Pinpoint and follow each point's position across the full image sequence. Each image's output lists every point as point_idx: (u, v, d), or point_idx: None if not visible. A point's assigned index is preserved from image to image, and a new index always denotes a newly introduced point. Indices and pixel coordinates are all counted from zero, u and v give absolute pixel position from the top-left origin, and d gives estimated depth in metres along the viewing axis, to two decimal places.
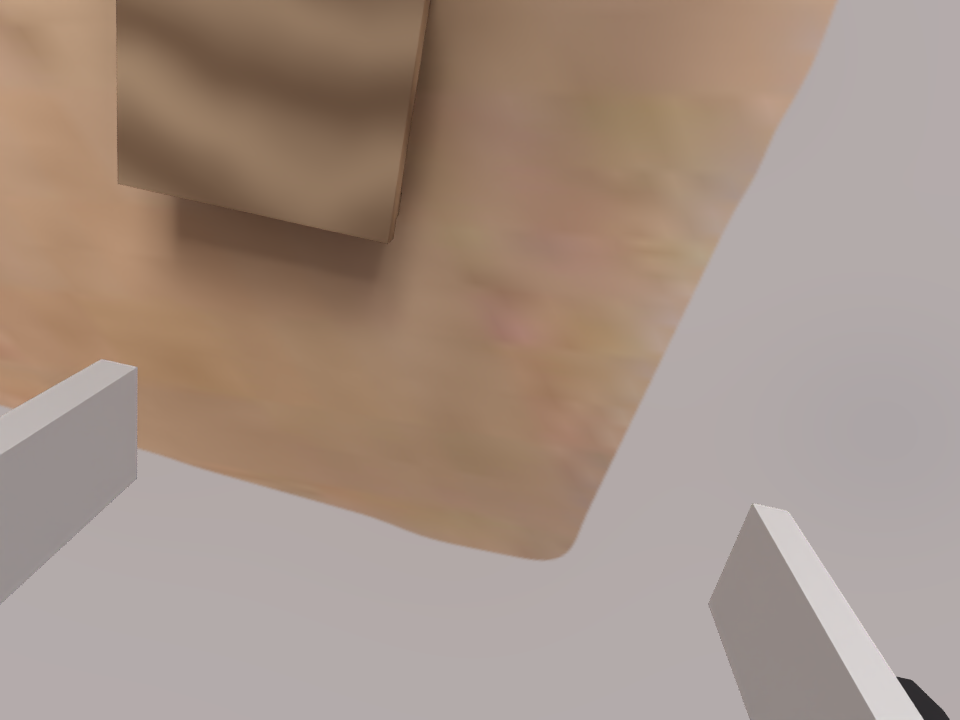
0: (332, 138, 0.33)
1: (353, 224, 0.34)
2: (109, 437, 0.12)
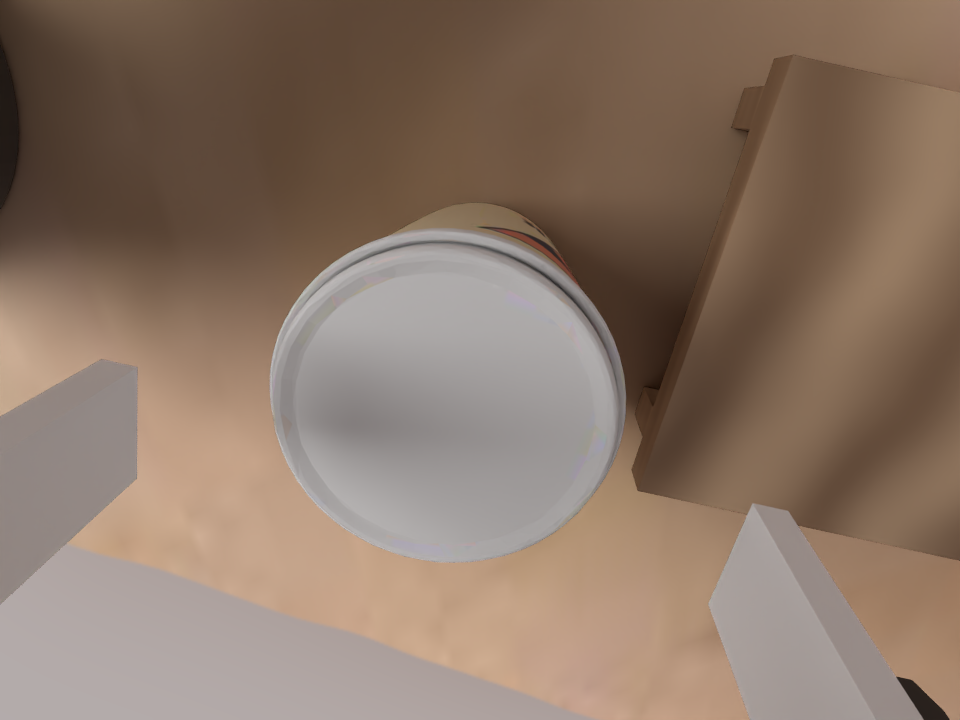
0: None
1: None
2: (109, 437, 0.12)
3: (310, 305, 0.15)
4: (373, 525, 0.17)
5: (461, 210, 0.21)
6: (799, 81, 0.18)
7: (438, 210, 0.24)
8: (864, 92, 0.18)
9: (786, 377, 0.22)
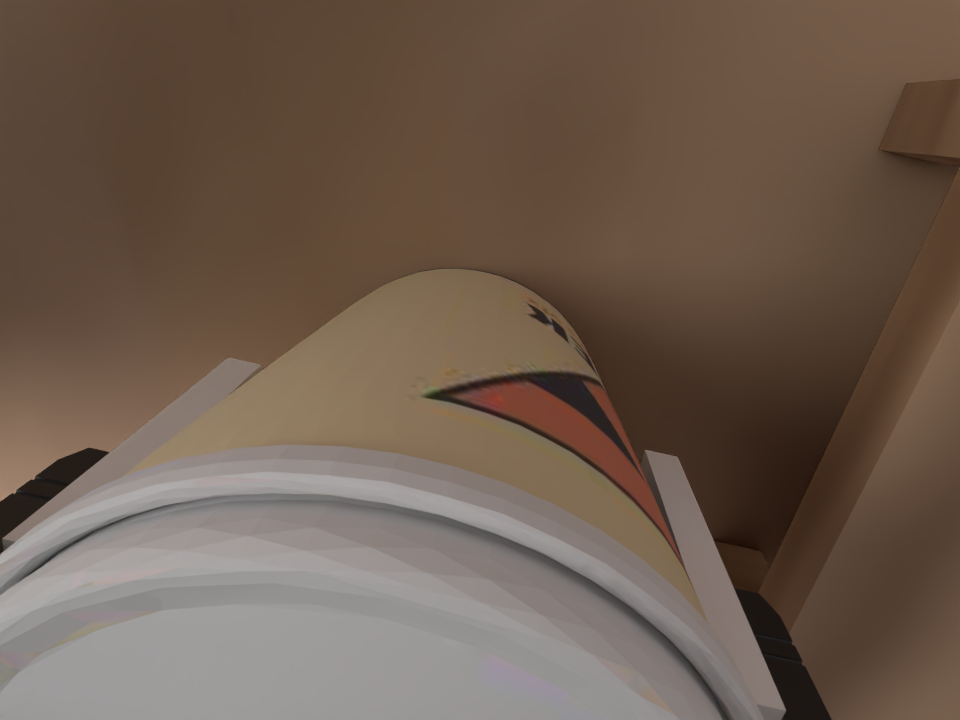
0: None
1: None
2: None
3: None
4: None
5: (417, 305, 0.12)
6: None
7: (388, 288, 0.14)
8: None
9: None
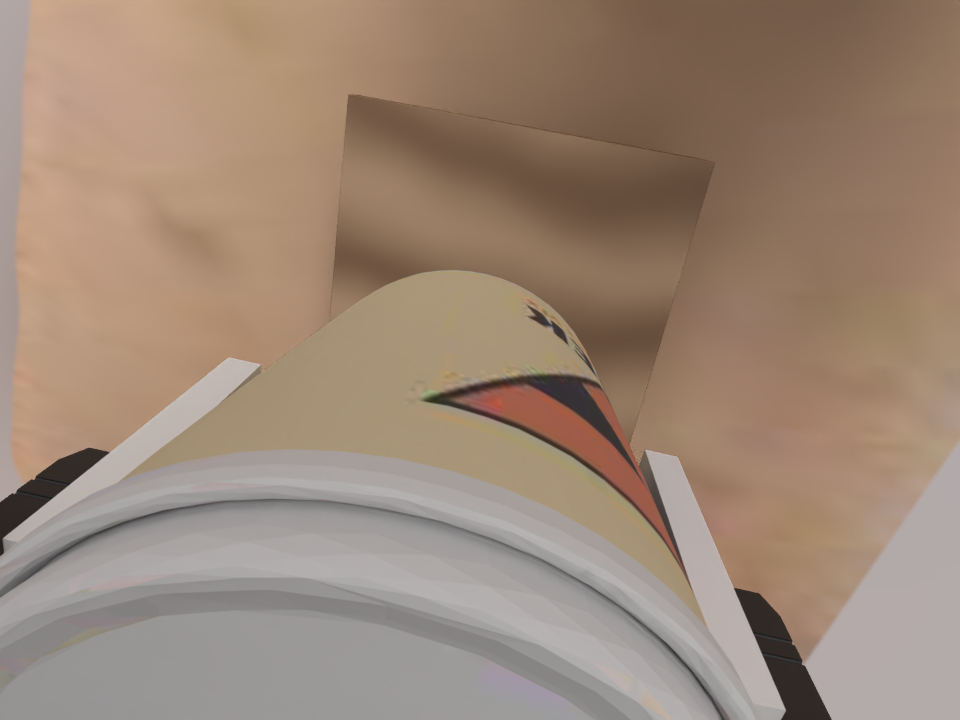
0: None
1: None
2: None
3: None
4: None
5: (416, 307, 0.12)
6: (696, 170, 0.26)
7: (387, 290, 0.14)
8: (685, 217, 0.26)
9: (469, 207, 0.27)
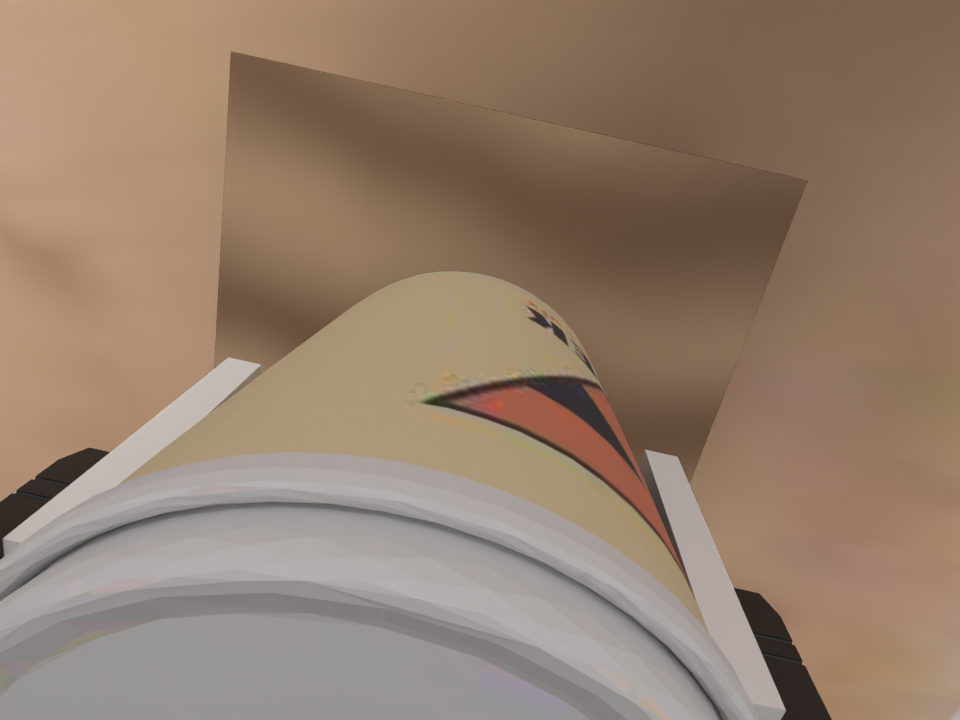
0: None
1: None
2: None
3: None
4: None
5: (416, 308, 0.12)
6: (777, 192, 0.16)
7: (387, 291, 0.14)
8: (754, 263, 0.17)
9: (422, 235, 0.17)
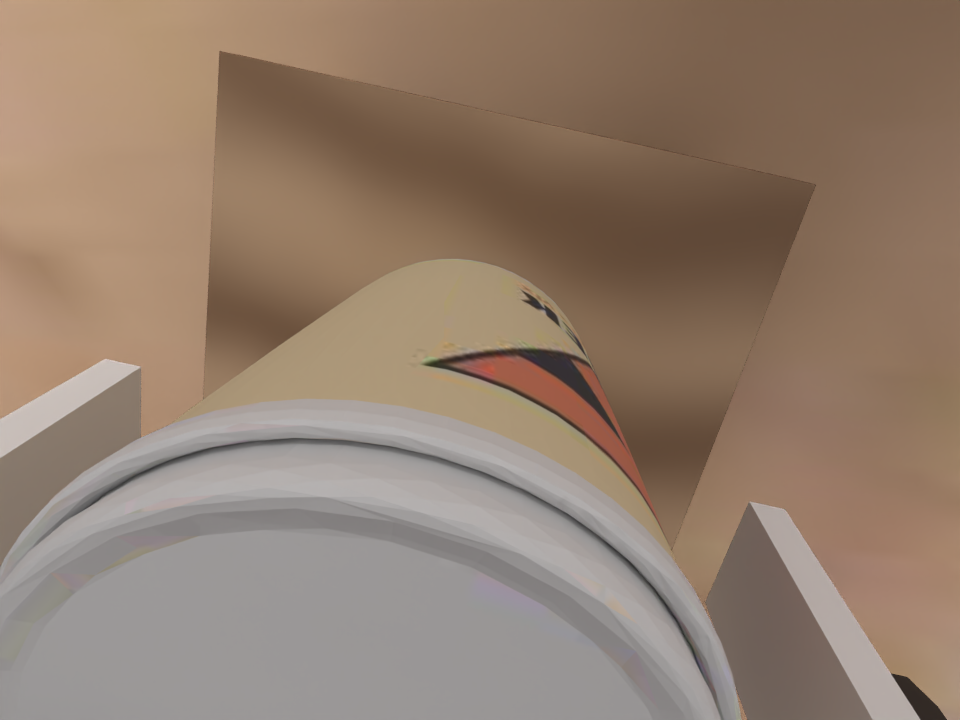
0: None
1: None
2: (113, 437, 0.12)
3: (7, 591, 0.06)
4: None
5: (418, 289, 0.12)
6: (784, 196, 0.16)
7: (390, 276, 0.15)
8: (761, 270, 0.16)
9: (417, 241, 0.17)
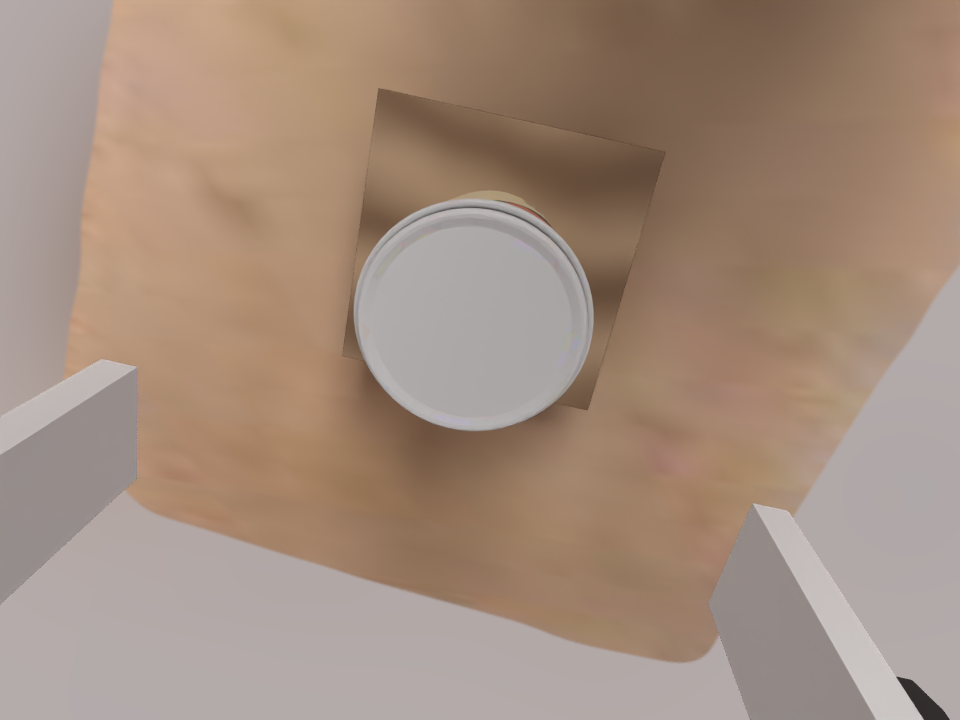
0: None
1: None
2: (109, 437, 0.12)
3: (386, 248, 0.23)
4: (422, 404, 0.25)
5: (480, 193, 0.29)
6: (651, 158, 0.33)
7: None
8: (642, 195, 0.33)
9: (471, 181, 0.34)
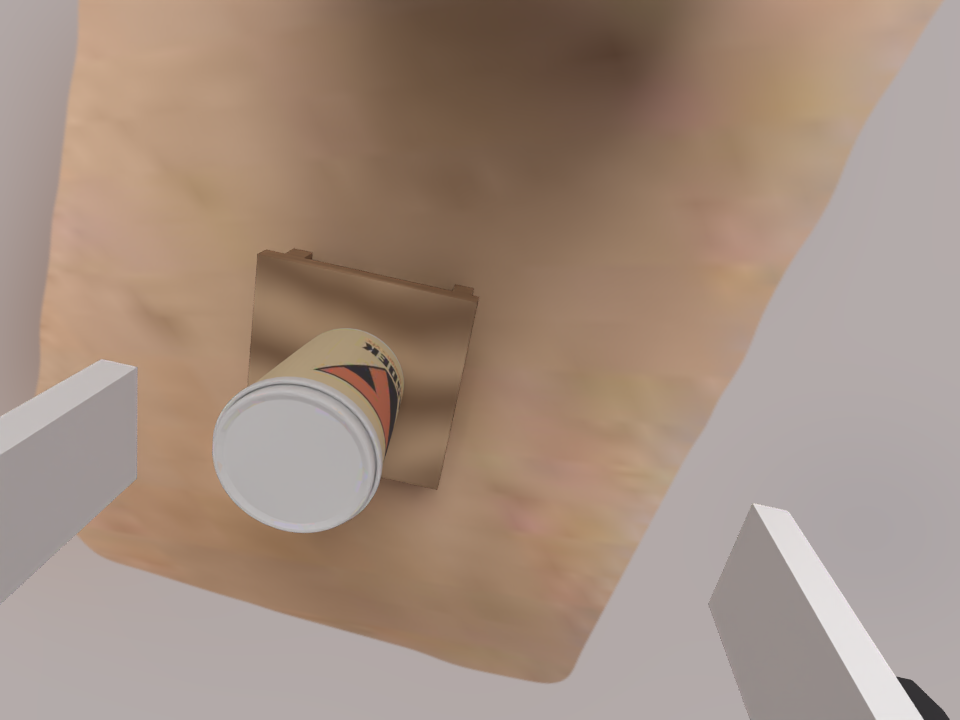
0: (400, 424, 0.46)
1: (412, 477, 0.48)
2: (109, 437, 0.12)
3: (228, 412, 0.33)
4: (264, 514, 0.35)
5: (323, 345, 0.39)
6: (466, 306, 0.42)
7: (319, 337, 0.42)
8: (462, 333, 0.43)
9: (332, 321, 0.44)
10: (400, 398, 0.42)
